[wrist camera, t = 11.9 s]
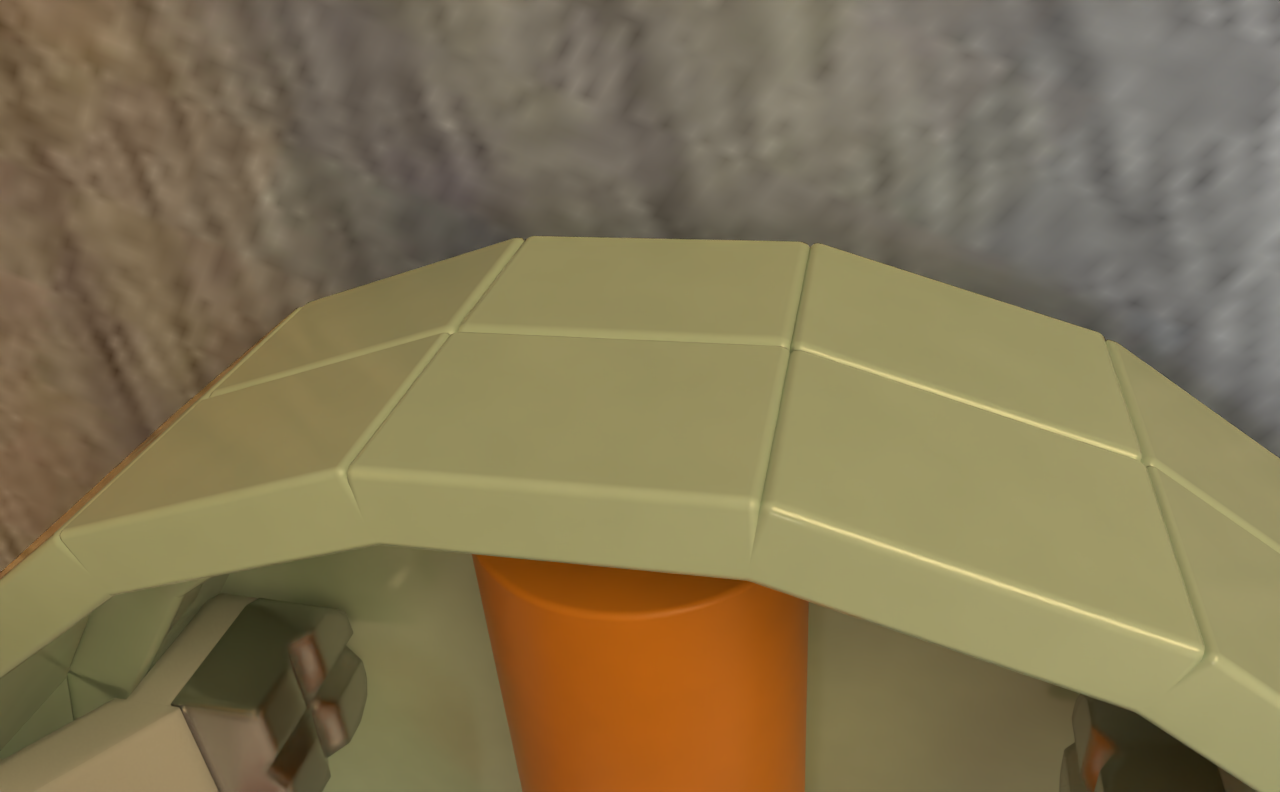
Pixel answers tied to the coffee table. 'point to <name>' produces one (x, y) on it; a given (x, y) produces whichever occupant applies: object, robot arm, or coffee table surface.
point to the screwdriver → (647, 678)
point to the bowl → (695, 509)
